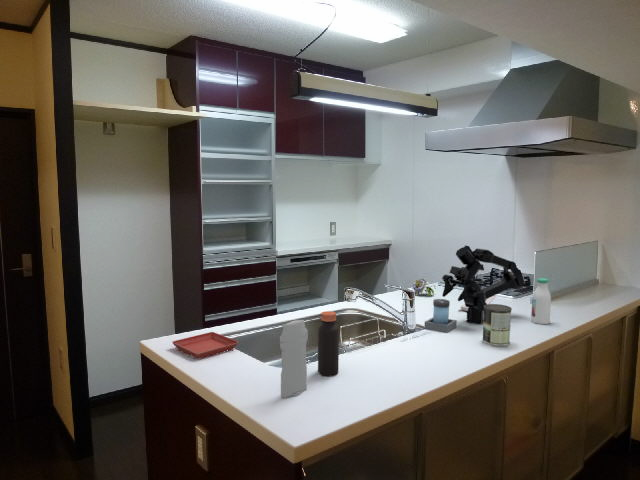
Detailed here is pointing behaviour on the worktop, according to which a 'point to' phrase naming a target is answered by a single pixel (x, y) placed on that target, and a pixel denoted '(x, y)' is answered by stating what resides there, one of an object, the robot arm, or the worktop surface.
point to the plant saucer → (205, 344)
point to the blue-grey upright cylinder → (441, 311)
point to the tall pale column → (293, 358)
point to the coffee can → (496, 324)
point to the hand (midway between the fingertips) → (450, 298)
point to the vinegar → (328, 345)
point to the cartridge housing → (440, 325)
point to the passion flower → (422, 287)
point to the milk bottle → (541, 303)
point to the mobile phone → (485, 301)
